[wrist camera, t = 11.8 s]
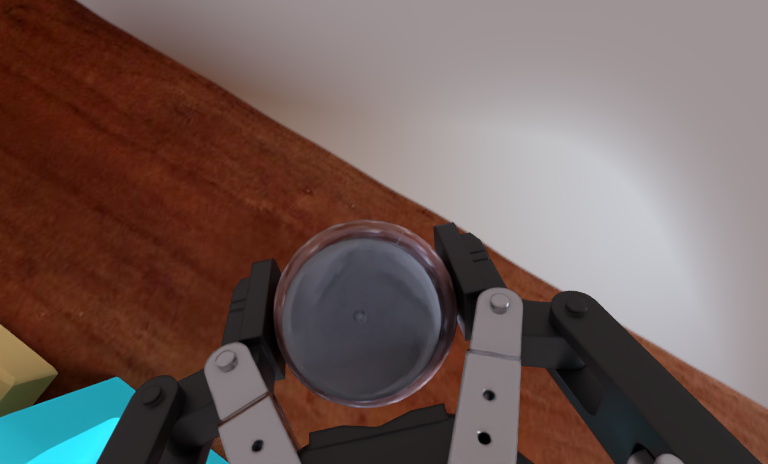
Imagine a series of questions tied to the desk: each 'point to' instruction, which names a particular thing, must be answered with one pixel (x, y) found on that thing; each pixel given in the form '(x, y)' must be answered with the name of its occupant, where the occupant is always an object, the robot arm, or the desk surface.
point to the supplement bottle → (365, 313)
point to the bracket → (68, 427)
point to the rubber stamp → (21, 374)
